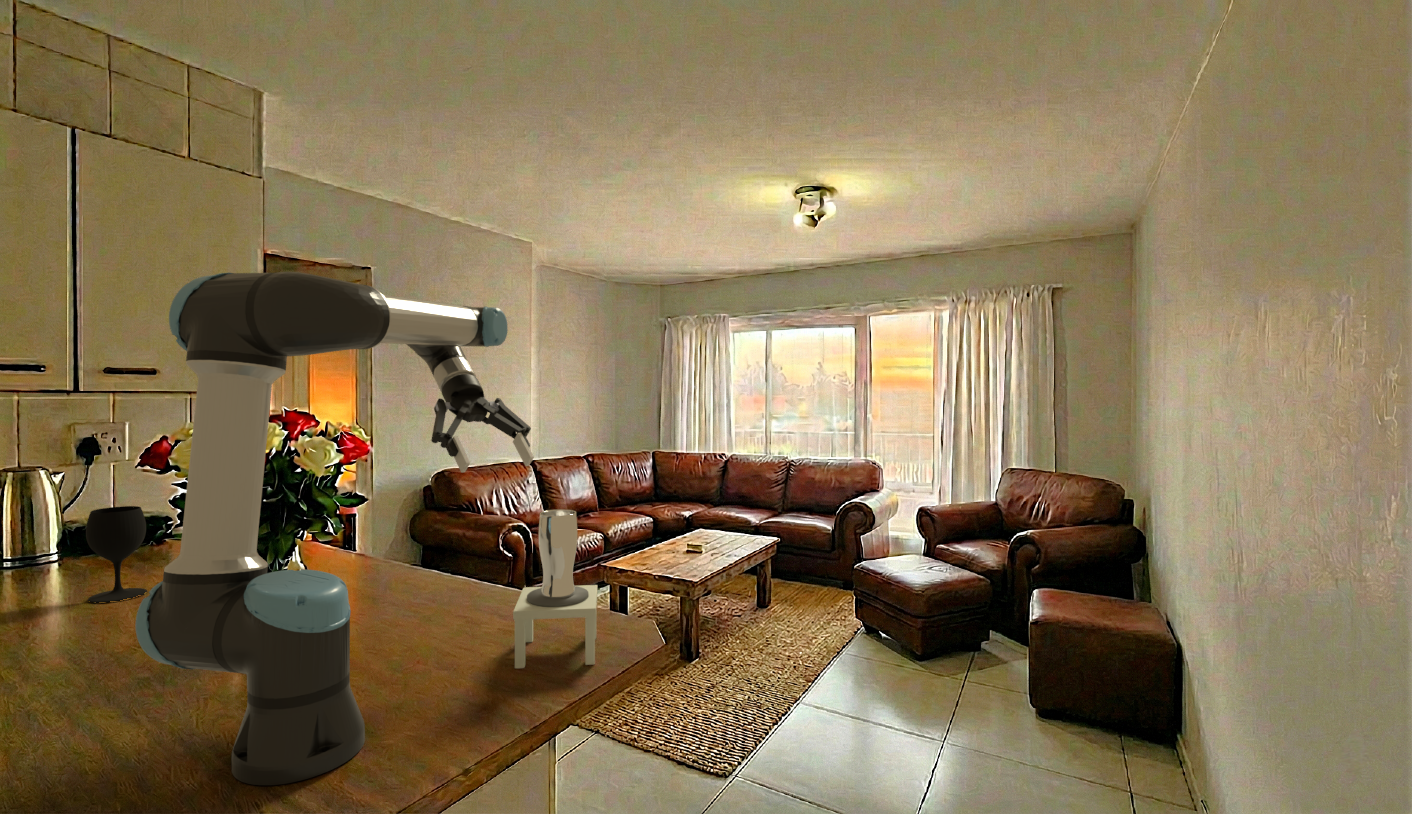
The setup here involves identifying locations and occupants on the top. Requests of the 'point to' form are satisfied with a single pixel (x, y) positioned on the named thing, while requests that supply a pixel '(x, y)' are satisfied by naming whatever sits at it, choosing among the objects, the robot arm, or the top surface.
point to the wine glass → (116, 543)
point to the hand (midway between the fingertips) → (499, 464)
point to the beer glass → (557, 552)
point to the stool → (545, 608)
